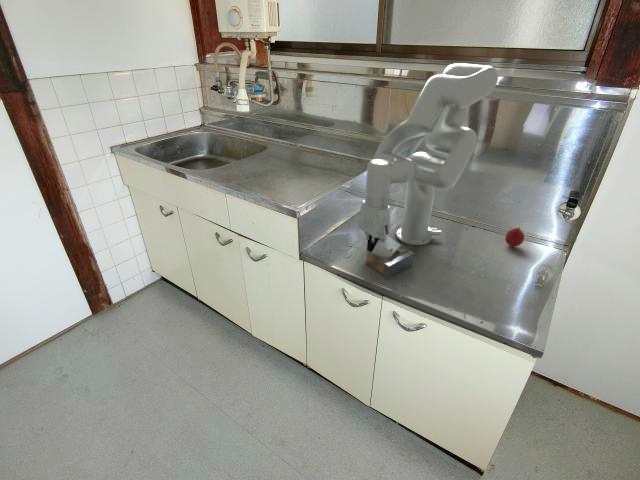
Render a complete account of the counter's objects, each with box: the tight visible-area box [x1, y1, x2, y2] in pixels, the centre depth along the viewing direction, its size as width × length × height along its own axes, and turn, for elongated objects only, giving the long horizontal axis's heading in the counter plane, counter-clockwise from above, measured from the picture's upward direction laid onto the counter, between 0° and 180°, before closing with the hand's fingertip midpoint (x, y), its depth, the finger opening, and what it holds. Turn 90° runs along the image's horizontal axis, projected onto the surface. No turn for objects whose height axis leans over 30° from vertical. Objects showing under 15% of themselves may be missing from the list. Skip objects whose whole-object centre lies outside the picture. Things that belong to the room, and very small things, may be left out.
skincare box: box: [371, 235, 401, 260], centre depth 117 cm, size 6×6×7 cm
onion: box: [504, 226, 525, 248], centre depth 126 cm, size 6×6×8 cm
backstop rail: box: [382, 249, 415, 281], centre depth 114 cm, size 2×12×5 cm, turn 129°
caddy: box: [365, 248, 409, 275], centre depth 117 cm, size 8×10×5 cm
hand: (371, 250), depth 121 cm, fingers closed
